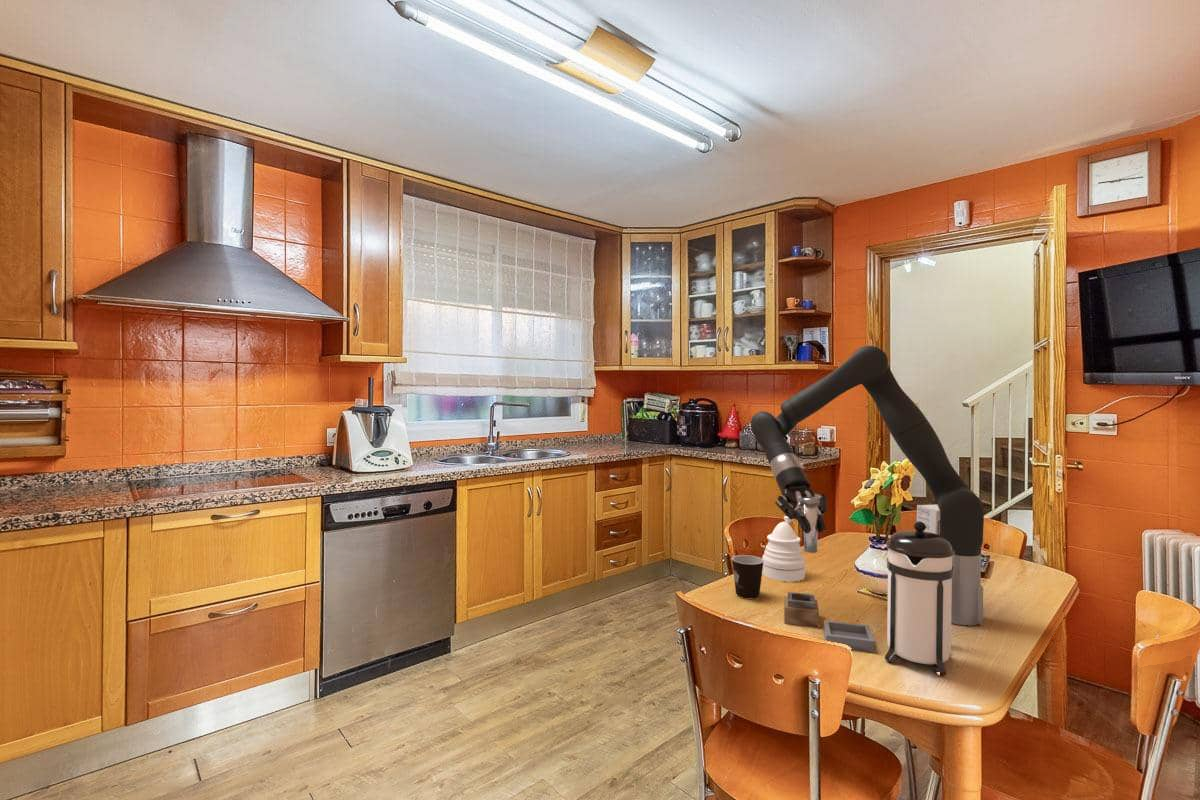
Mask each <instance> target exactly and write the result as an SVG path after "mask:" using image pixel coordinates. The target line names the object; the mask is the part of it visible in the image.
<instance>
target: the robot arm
mask: <svg viewBox="0 0 1200 800" xmlns="http://www.w3.org/2000/svg"><path fill="white" fill-rule="evenodd" d="M860 385H862V386H863V387H864V389H865V390H866V391H867V393H868V395H870V397H871V398H872V400H873V401H874V403H875V404H876V407H877V409H878V411H879V414H880V416H881V417H882V420H883V422H884V424H885V426H886V428H887V429H888V431H889V433H890V435H891V436H892V438H893V440H894V442H896V445H897V446H898V447H899V449H900V450H901V452H902V453H903V454H904V455H905V457H906V459H908V461H909V462H910V463H911V465H913V467H914V468H915V469H916V470H917V471H918V472H919V474H920V475H921V476H922V478H923V479H924V481H925V483H926V484H927V486H928V488H929V490H930V492H931V494H932V496H933V498H934V500H935V502H936V504H937V505H938V508H939V510H940V534H939V535H940V536H942V537H944V538H946V539H947V540H948V541H949V542H950V544H951V546H952V548H954V550H955V553H954V556H953V557H952V566H953V577H952V603H951V624H955V625H959V626H966V625H968V626H970V625H973V626H977V624H981V625H980V626H983V625H984V624H983V623H984V586H983V585H982V584H981V578H982V577H981V576H982V575H981V574H982V573H981V572H982V570H981V569H982V567H981V566H982V546H983V543H984V525H985V510H984V505H983V504H984V503H983V501H982V500H981V499H980V497H979V496H978V495H977V494H976V493H975V492H974V491H973V490H972V489H971V488H970V487H969V486H968V485H967V484H966V482H964V480H963V478H962V477H961V476H960V475H959V474H958V472H957V470H955V469H954V467H953V465H952V464H951V462H950V460H949V458H948V455H947V453H946V450H945V448H944V446H943V444H942V442H941V440H940V438H939V436H938V435H937V433H936V431H935V430H934V428H933V427H932V425H931V423H930V422H929V420H928V419H927V417H926V415H925V414H924V412H923V411H922V410H921V409H920V408H919V407H918V406H917V404H916V403H915V402H914V401H913V400H912V399H911V397H909V395H908V394H907V393H906V392H905V391H904V390H903V388H902V387H901V386H900V385H899V382H898V381H897V379H896V378H895V376H894V374H893V372H892V369H891V368H890V365H889V358H888V356H887V354H886V352H885V351H884V350H883V349H881V348H880V347H878V346H875V345H864V346H861V347H859V348H857V349H855V351H854V352H853V353H852V354H851V355H850V357H849V358H848V359H846V360H845V361H844V362H843V363H842V364H840V366H838V367H837V368H835V369H834V370H833V371H831V372H830V373H829V374H828V375H826V376H824V377H823V378H821V379H819V380H818V381H816V382H814V383H813V384H810V385H809V386H807V387H805V388H804V389H802V390H800V391H799V392H797V393H796V394H794V395H792V396H791V397H790V398H788V399H786V400H785V401H783V402H782V403H781V404H780V411H781V412H780V413H779V414H778V415H777V416H776V417H775V416H774V415H773V414H772V413H770V412H769V411H768V412H767V411H758V412H756V413H755V414H753V416H752V418H751V420H750V428H751V431H752V433H753V435H754V437H755V439H756V441H757V442H758V444H759V446H760V447H761V448H762V449H763V451H764V454H765V457H766V460H767V462H768V463H769V467H770V469H771V472H772V475H773V477H774V480H775V482H776V484H777V486H778V489H779V491H780V493H781V495H779V496H778V497H777V498H776V500H775V502H774V503H775V505H776V506H777V507H778V508H779V509H780V510H781V511H782V513H784V515H786V516H787V517H788V518H789V519H792V520H795V521H797V522H798V524H799V527H800V529H801V530H802V532H803V533H804V532H805V533H806V534H807V533H809V532H810V531H811V527H810V525H809V522H808V520H807V518H806V516H804V504H803V503H802V497H806V496H810V497H818V498H820V504H817V521H818V533H823V532H824V531H825V530H826V526H827V525H826V524H825V521H824V519H823V517H824V515H826V513H827V496H826V493H824V492H822V493H820V494H817V493H815V491H814V490H813V489H812V488H811V485H810V481H809V479H808V477H807V475H806V473H805V471H804V469H803V467H802V464H801V463H800V461H799V459H798V458H797V457H796V455H795V453H794V450H793V449H792V447H791V445H790V443H789V442H788V441H787V440H786V438H785V437H787V435H788V434H789V433H790V432H791V431H793V429H794V428H795V427H796V426H797V425H798V424H799V423H801V422H802V421H804V420H806V419H807V418H809V417H810V416H812V415H813V414H815V413H817V412H818V411H820V410H821V409H823V408H824V407H825V406H826V405H828V404H829V403H831V402H833V400H835V399H836V398H838V397H840V396H841V395H842V394H844V393H846V392H848V391H850V390H851V389H853V388H855V387H857V386H860Z"/></svg>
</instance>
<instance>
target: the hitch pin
mask: <svg viewBox="0 0 1200 800" xmlns="http://www.w3.org/2000/svg"><path fill="white" fill-rule="evenodd" d="M802 503H803V504H804V508H803V512H804V516H806V518H807V520H808V522H809V525H810V527H811V531H810V532H809V533H807V534H806V533H805V532H804V531H803V552H806V553H810V554H815V553H818V551H819V549H818V543H819V541H818V540H819V539H818V536H819V535H818V533H819V531H818V521H817V507H818V504H820V498H818V497H810V496H806V497H802Z"/></svg>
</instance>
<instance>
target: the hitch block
mask: <svg viewBox="0 0 1200 800" xmlns="http://www.w3.org/2000/svg"><path fill="white" fill-rule="evenodd" d="M783 599H784V601H783V602H784V604H783V605H784V608H783V609H784V611H783V613H784V615H783V617H784V618H783V619H784V624H786V625H793V626H794V625H796V626H805V627H811V628H820V610H819V603H818V599H815V594H812V593H805V592H804V593H802V592H793V591H787V595H785V596H784V597H783Z"/></svg>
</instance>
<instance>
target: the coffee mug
mask: <svg viewBox="0 0 1200 800" xmlns="http://www.w3.org/2000/svg"><path fill="white" fill-rule="evenodd" d="M731 559H732V561H731V562H732V569H733V578H734V579H733V581H734V587H735V595H736V594H737V595H738V596H737V595H736V596H737V597H739V596H740V597H739V598H741V597H743V598H742V599H745V598H755V599H758V598H759V597H760V594H761V586H762V576H763V574H762V570H763V562H764V560H763V559H762V557H758V556H755V555H748V554H740V555H739V554H738V555H734V556H733V557H731ZM757 597H758V598H757Z"/></svg>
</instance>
